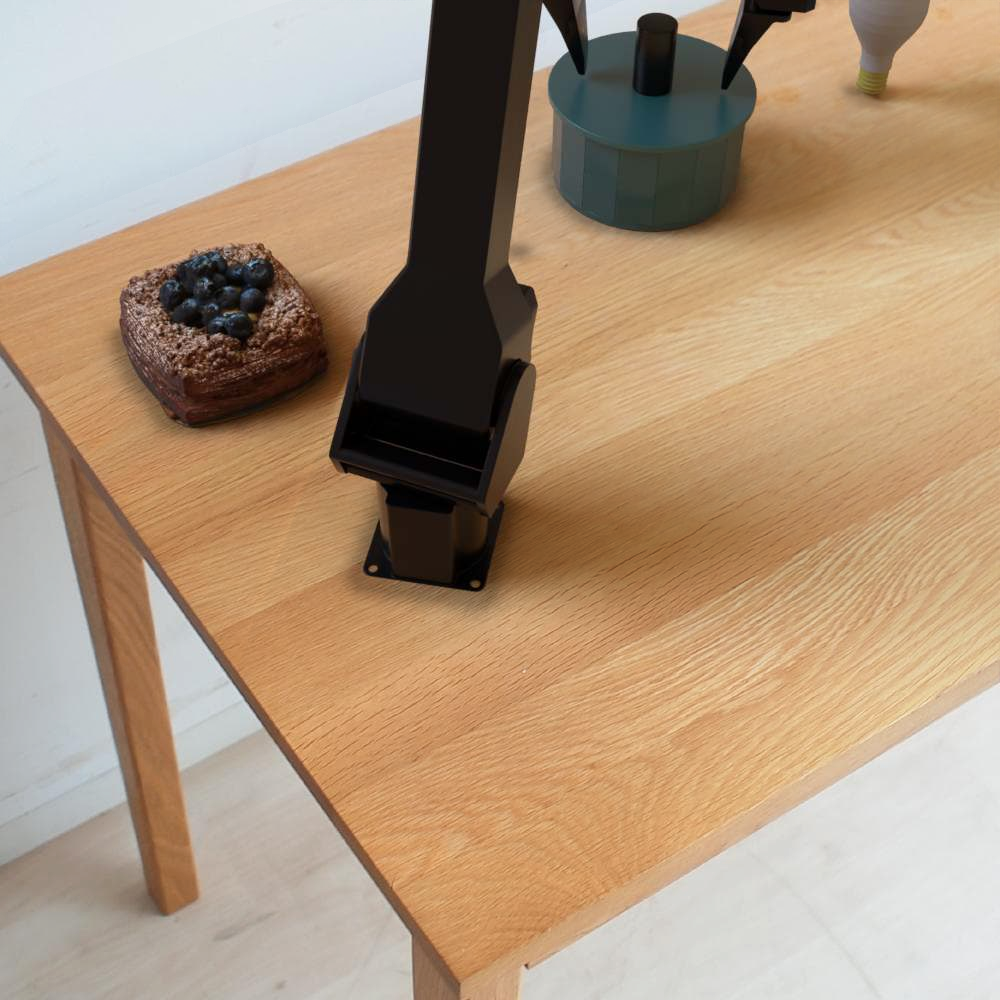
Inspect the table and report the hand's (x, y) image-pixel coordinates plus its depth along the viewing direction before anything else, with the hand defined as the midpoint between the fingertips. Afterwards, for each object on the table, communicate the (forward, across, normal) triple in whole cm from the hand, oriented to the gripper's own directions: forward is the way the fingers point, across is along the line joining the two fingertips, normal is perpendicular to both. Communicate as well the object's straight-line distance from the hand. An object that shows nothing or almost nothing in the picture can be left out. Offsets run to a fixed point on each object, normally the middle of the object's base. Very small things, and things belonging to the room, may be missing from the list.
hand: (653, 78), depth 94 cm
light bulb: (+8, -15, -13) cm, 21 cm away
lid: (+1, 0, 0) cm, 1 cm away
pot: (+7, 0, 0) cm, 7 cm away
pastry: (+8, +23, +22) cm, 33 cm away
